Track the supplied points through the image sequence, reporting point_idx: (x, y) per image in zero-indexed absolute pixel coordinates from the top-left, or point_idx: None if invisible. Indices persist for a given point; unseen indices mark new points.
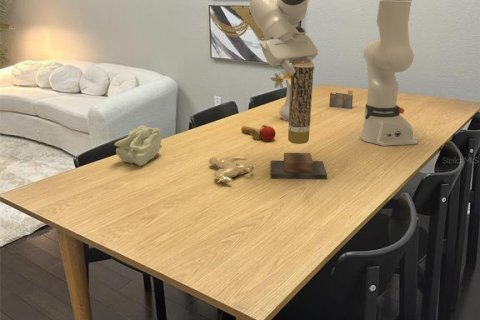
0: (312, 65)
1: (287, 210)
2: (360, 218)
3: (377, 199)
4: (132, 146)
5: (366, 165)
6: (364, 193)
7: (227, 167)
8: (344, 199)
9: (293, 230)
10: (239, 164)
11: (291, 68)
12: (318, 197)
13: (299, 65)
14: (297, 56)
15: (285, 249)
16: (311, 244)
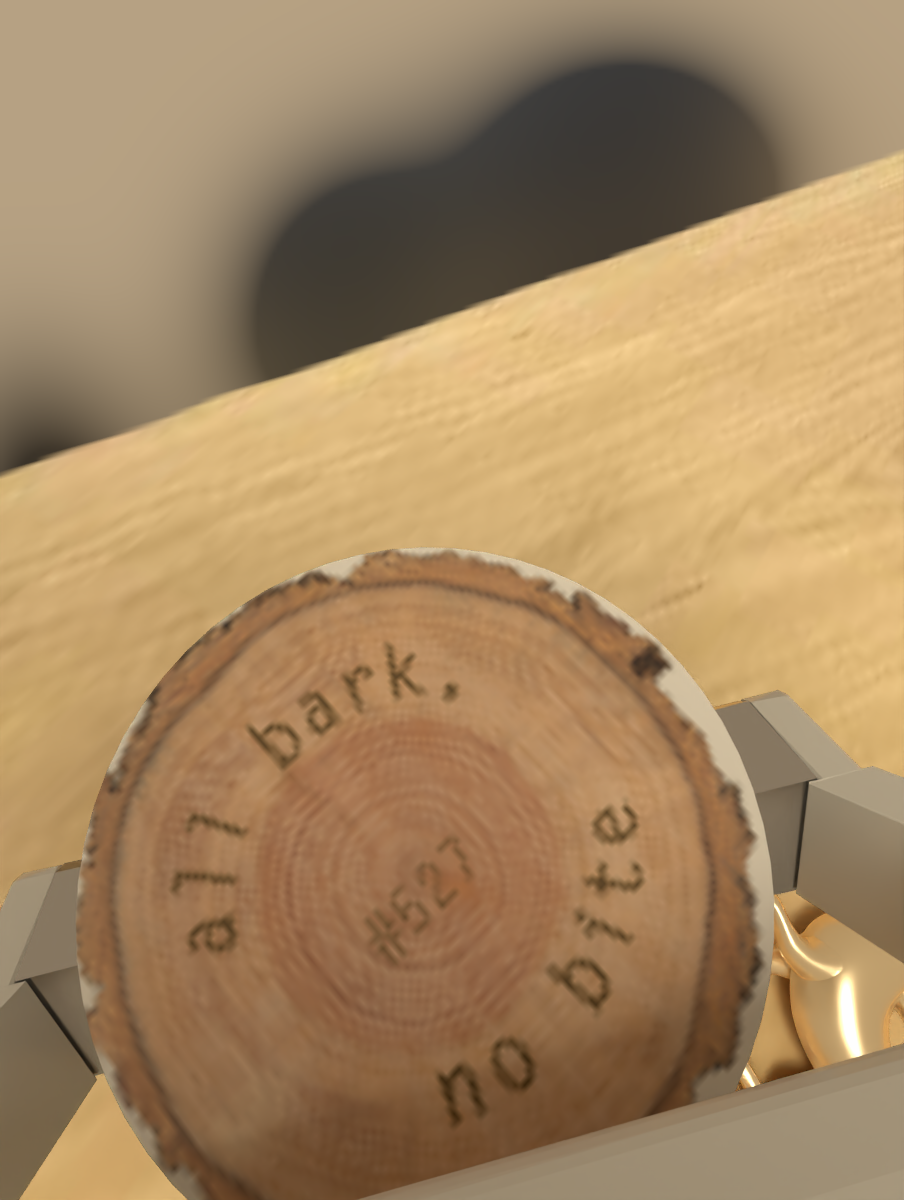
0: (289, 593)
1: (725, 480)
2: (499, 306)
3: (321, 380)
4: None
5: (32, 692)
6: (324, 445)
7: (899, 973)
8: (444, 444)
9: (778, 353)
10: (751, 1075)
11: (845, 773)
12: (535, 511)
13: (676, 664)
14: (561, 1145)
15: (859, 279)
16: (764, 263)
